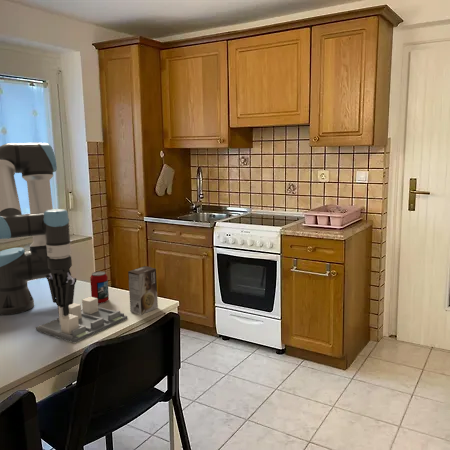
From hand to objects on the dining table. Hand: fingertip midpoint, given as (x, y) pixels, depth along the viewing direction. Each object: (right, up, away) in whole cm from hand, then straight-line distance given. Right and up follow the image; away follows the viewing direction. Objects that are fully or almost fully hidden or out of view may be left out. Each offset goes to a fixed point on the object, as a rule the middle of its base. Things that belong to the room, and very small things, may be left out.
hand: (64, 323), depth 153 cm
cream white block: (+4, +1, +17) cm, 17 cm away
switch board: (+4, -2, +8) cm, 9 cm away
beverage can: (+4, +2, +31) cm, 31 cm away
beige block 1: (0, 0, +10) cm, 10 cm away
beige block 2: (+2, -2, -1) cm, 3 cm away
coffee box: (+23, +1, +21) cm, 31 cm away
